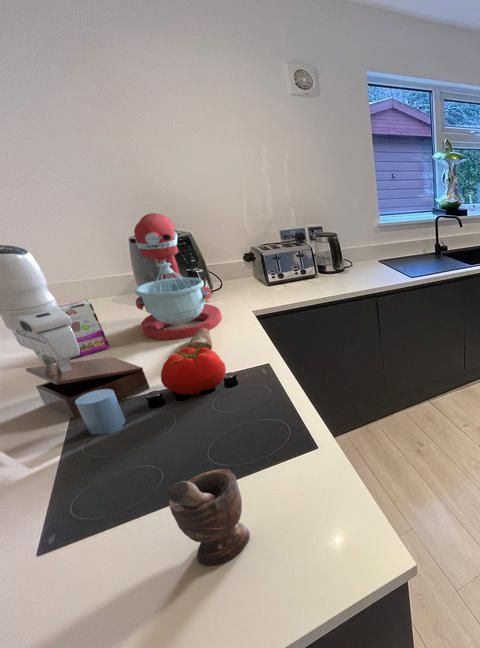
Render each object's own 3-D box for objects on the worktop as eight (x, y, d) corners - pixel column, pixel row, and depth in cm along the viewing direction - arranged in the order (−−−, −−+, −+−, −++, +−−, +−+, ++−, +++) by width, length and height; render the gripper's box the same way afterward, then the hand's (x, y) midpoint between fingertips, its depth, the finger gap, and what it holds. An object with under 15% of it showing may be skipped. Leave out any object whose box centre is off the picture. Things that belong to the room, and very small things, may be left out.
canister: (99, 439, 91) (84, 407, 88) (84, 432, 94) (68, 400, 90) (132, 424, 97) (119, 392, 93) (117, 417, 99) (104, 386, 96)
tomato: (234, 388, 112) (224, 351, 108) (170, 408, 103) (156, 369, 98) (224, 371, 121) (214, 336, 116) (164, 387, 112) (150, 350, 107)
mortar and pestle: (264, 560, 66) (235, 467, 58) (200, 597, 60) (159, 498, 53) (246, 517, 73) (219, 429, 66) (188, 545, 68) (150, 453, 60)
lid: (56, 384, 93) (56, 363, 92) (25, 371, 98) (24, 350, 97) (142, 370, 108) (142, 352, 107) (112, 359, 113) (112, 341, 112)
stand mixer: (139, 347, 133) (94, 227, 118) (146, 317, 157) (109, 213, 141) (224, 331, 147) (194, 221, 131) (219, 305, 170) (193, 209, 154)
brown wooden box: (76, 422, 97) (66, 400, 95) (46, 407, 102) (35, 386, 100) (150, 390, 110) (143, 370, 108) (120, 378, 115) (112, 359, 113)
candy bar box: (106, 344, 135) (87, 299, 128) (110, 348, 132) (92, 302, 126) (58, 357, 126) (36, 309, 120) (62, 361, 123) (40, 312, 117)
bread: (189, 360, 126) (184, 344, 124) (195, 338, 141) (190, 323, 139) (213, 355, 129) (208, 340, 127) (216, 334, 144) (212, 320, 142)
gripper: (-9, 312, 93) (18, 364, 98) (35, 328, 86) (62, 382, 91) (29, 304, 98) (53, 353, 104) (74, 317, 91) (97, 370, 97)
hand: (58, 367), depth 98 cm, fingers closed on lid, 6 cm apart
